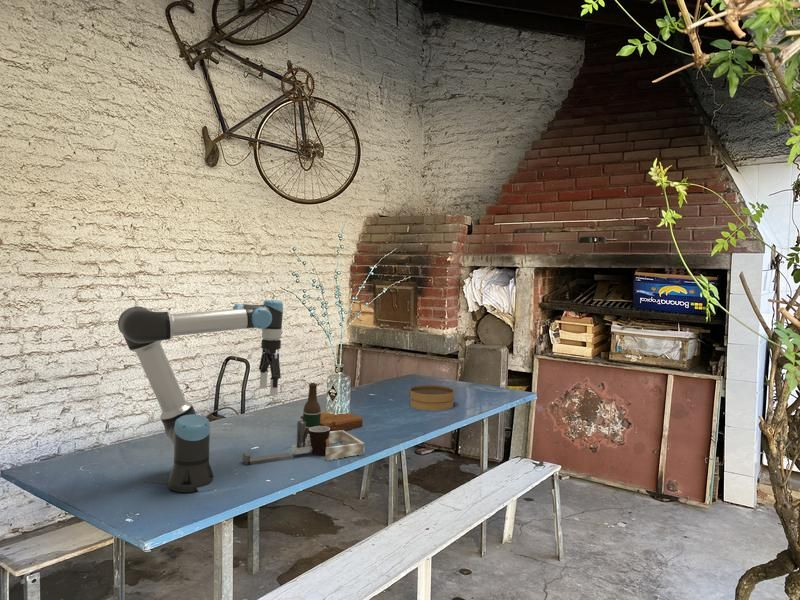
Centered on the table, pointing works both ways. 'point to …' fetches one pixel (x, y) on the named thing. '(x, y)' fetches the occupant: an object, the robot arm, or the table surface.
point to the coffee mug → (319, 439)
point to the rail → (265, 458)
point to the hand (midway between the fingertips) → (268, 392)
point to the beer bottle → (312, 409)
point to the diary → (340, 421)
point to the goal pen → (349, 449)
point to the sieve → (431, 397)
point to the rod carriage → (303, 440)
